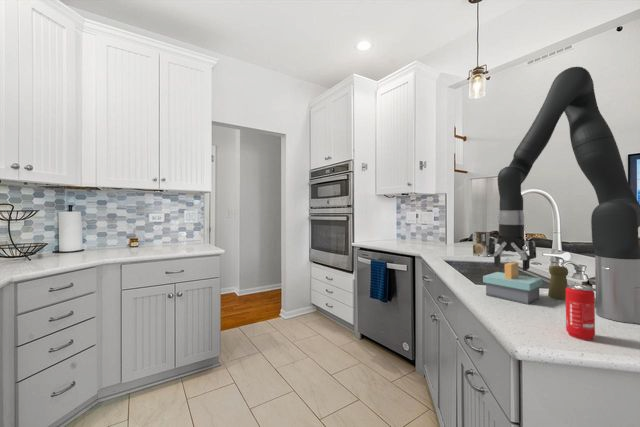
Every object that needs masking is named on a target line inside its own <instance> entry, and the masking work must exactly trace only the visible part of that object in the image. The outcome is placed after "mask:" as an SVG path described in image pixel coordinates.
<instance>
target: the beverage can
mask: <svg viewBox="0 0 640 427" xmlns="http://www.w3.org/2000/svg"><path fill="white" fill-rule="evenodd" d="M595 316H596V297H595V291H594V289H593V288H592V287H590V286H587V285H578V284H568V285H567V288H566V300H565V328H566V329H565V330H566V331H567V334H568V335H569V336H570V337H572V338H574V339H577V340H580V341H581V340H582V341H592V340H593V339H594V337H595V336H596V322H595V321H596V319H595V318H596V317H595Z"/></svg>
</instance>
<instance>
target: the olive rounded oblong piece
mask: <svg viewBox="0 0 640 427" xmlns="http://www.w3.org/2000/svg"><path fill="white" fill-rule="evenodd" d="M548 273H549V274H550V280H549V285H548V286H549V287H548V292H547V293H548V294H547V297H549V298H551V299H554V300H560V301H566V288H567V285H569V284H568V280H567V279H568V278H567V276H568V275H569V269H568V267H566V266H562V265H552V266H549V268H548Z"/></svg>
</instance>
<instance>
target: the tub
mask: <svg viewBox="0 0 640 427" xmlns="http://www.w3.org/2000/svg"><path fill="white" fill-rule="evenodd" d="M485 295H486V296H488V297H492V298H497V299H502V300H506V301H511V302H515V303H520V304H525V305H530V304H532V303H534V302H536V301H537V300H539V299H540V286H539V287H537V288H535V289H532V290H530V291H528V290H523V289H517V288H512V287H507V286H501V285H496V284H490V283H485Z"/></svg>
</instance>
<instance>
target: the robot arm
mask: <svg viewBox="0 0 640 427" xmlns="http://www.w3.org/2000/svg"><path fill="white" fill-rule="evenodd" d="M592 78H593V77H592V75H591V73H590V72H589V71H588V70H587V68H585V67H582V66H572V67H568V68H566V69H564V70H563V71H562V70H561V72H560V73H559V74H558V75H557V76H556V77H555V78H554V80H553V81H552V83H551V85H550V88H549V90H548V92H547V94H546V97H545V99H544V102H543V103H542V105H541V107H540V109H539V111H538V113H537V115H536V117H535V119H534V120H533V122H532V124H531V126H530V127H529V129H528V131H527V132H526V133H525V134H524V136H523V138H522V139H521V141H520V143H519V145H518V146H517V148H516V149H515V150H514V153H513V156H512V157H513V158H512V160H511V161H510V164H509V165H508V166H506V167H503V168H501V169H500V171H499V172H498V174H497V188H498V190H497V191H498V194H499V213H498V237H497V238H496V237H491V238H490V239H489V250H488V253H489V254H491V256H493V260H494V261H493V262H494V264H493V265H495V267H497V268H499V267H501V264H502V263H501V257H502V256H500V255H502V254H503V253H504V252H512V253H518V255H519V256H520V257H521V258H522V271H524V272H525V271H526V272H527V271H528V270H529V269H530V267H531V266H530V265H531V264H530V263H531V262H530V260H533V259H536V258H537V249H536V248H537V244H536V241H535V240H530V241H529V240H525V214H524V197H523V194H522V184H523V183H524V182H525V180H526V179H527V177H528V175H529V173H530V172H531V170H532V168H533V166H534V163H535V162H536V161H537V160H538V158H539V157H540V155H541V154H542V153H543V151H544V150H545V148H546V146H547V145H548V144H549V142H550V140H551V138H552V135H553V133H554V132H555V129H556V127H557V124H558V122H559V120H560V119H561V117H562V115H563V113H564V114H565V116H566V118H567V121H568V127H569V128H568V129H569V138H570V145H571V148H572V152H573V154H574V157H575V160H576V162H577V165H578V167H579V169H580V170H581V172H582V173H583V175H584V176H585V178H586V179H587V180H588V181H589V183H590V184H591V185H592V188H593V189H594V191H595V194H596V198H597V202H598V205H597V206H596V207H595V208H594V209H593V211H592V213H591V219H590V222H591V223H590V224H591V225H590V226H591V241H592V242H591V243H592V247H593V248H594V254H595V255H594V257H595V260H594V261H595V262H594V263H595V264H594V265H595V267H594V268H595V271H594V272H595V274H594V276H595V279H594V280H595V315H597V316H599V317H602V318H604V319H608V320H612V321H616V322H622V323H632V324H637V325H640V242H639V241H640V240H639V228H640V202H639V200H638V199H637V197H636V195H635V193H634V192H633V189H632V188H631V186H630V184H629V181H628V178H627V174H626V170H625V166H624V164H623V163H624V162H623V159H622V156H621V153H620V151H619V150H620V149H619V147H618V144H617V142H616V139H615V136H614V134H613V132H612V130H611V128H610V126H609V125H608V123H607V121H606V120H605V118H604V116H603V115H602V114H601V111H600V109H599V107H598V106H599V105H598V102H597V98H596V93H595V87H594V86H595V84H594V80H593V79H592ZM497 243H498V244H499V247H498V248H497V249H496V245H497ZM525 245H526V247H527V248H528V253H527V251H526V249H525V248H524V247H525Z"/></svg>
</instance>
